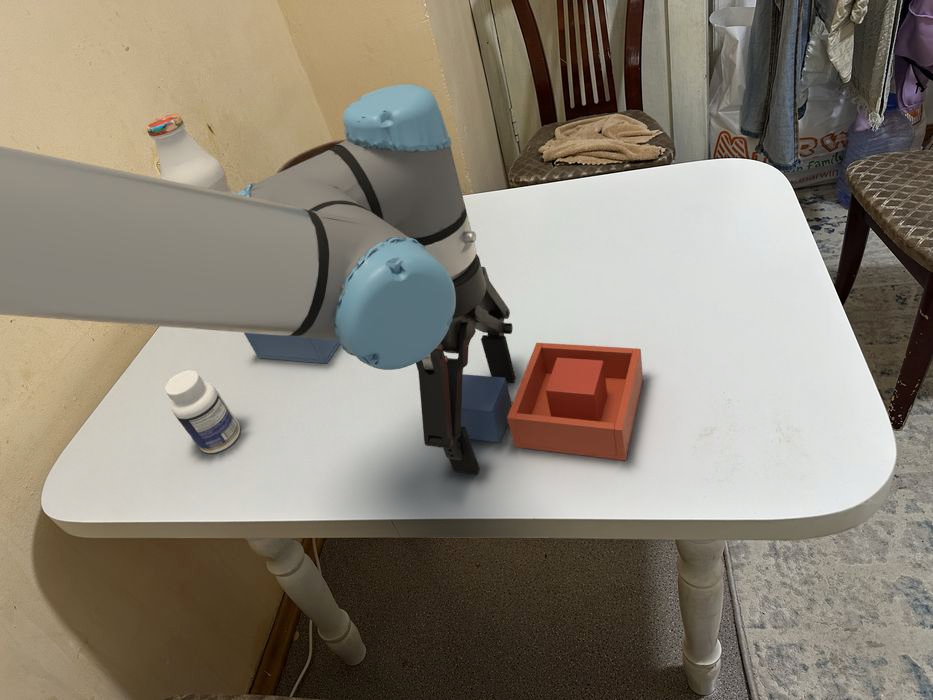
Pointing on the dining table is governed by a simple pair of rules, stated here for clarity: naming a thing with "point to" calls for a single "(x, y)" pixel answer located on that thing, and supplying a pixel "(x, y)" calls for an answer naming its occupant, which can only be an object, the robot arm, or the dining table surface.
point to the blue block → (485, 407)
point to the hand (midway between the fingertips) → (486, 422)
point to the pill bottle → (202, 412)
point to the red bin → (575, 435)
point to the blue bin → (292, 347)
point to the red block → (577, 389)
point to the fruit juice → (185, 156)
